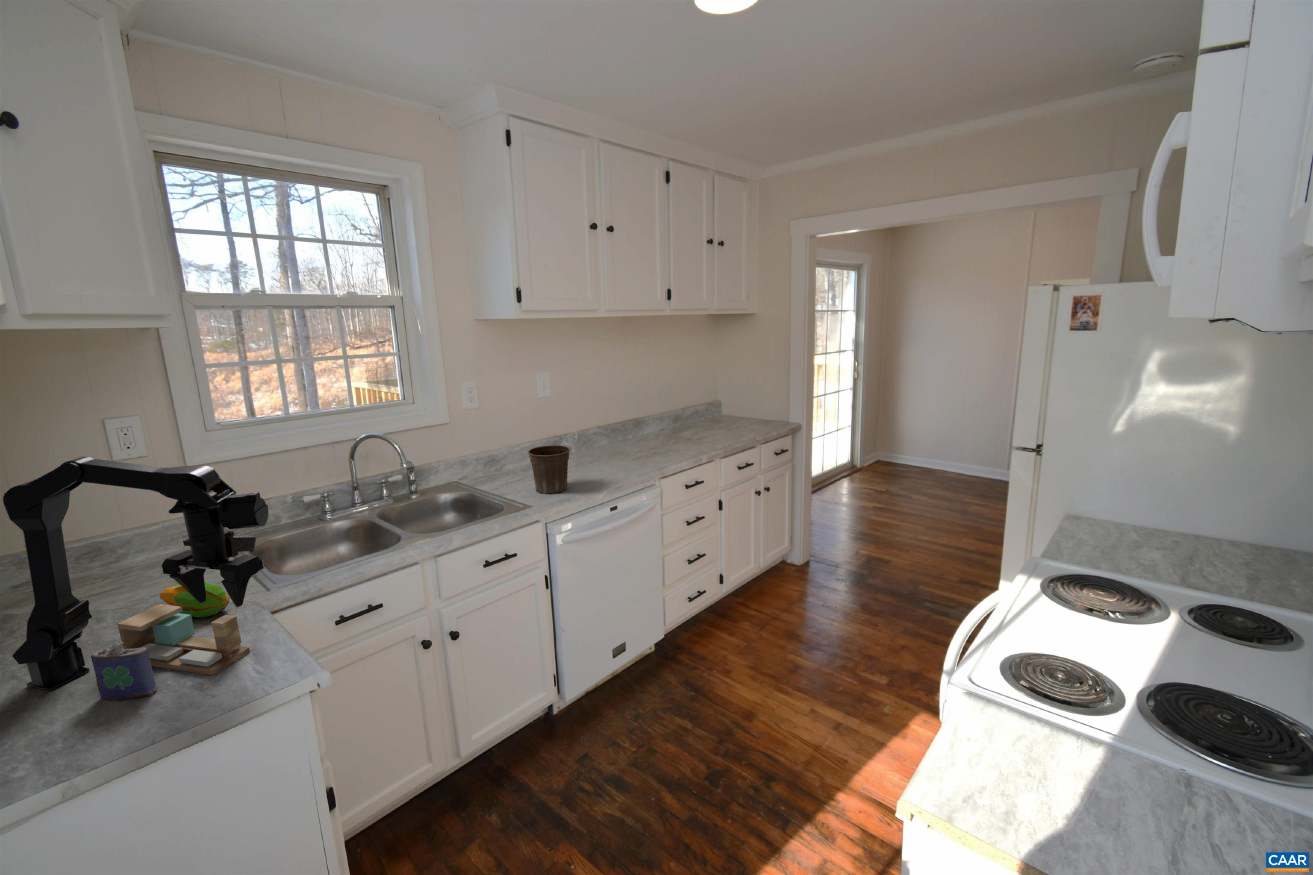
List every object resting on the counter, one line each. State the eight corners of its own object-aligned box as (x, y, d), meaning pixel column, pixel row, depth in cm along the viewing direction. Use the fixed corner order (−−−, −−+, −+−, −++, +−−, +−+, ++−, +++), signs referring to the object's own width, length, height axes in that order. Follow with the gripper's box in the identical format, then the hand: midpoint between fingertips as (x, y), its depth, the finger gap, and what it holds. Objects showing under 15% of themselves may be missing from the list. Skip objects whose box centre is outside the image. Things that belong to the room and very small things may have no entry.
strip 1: (228, 655, 115) (222, 623, 114) (154, 644, 120) (147, 614, 118) (242, 646, 118) (236, 616, 117) (169, 636, 123) (162, 607, 121)
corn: (205, 592, 129) (139, 584, 134) (209, 624, 130) (143, 614, 135) (236, 580, 136) (173, 572, 141) (240, 610, 137) (177, 601, 142)
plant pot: (568, 495, 217) (566, 454, 213) (526, 496, 217) (523, 455, 214) (575, 483, 233) (573, 444, 229) (536, 484, 233) (533, 445, 230)
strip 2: (207, 666, 112) (206, 662, 111) (133, 655, 116) (132, 651, 116) (222, 657, 114) (221, 653, 114) (149, 647, 119) (148, 643, 119)
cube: (173, 645, 117) (168, 625, 116) (156, 643, 118) (151, 623, 117) (195, 633, 122) (190, 614, 121) (178, 631, 123) (174, 612, 122)
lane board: (212, 675, 111) (204, 635, 109) (126, 661, 116) (117, 623, 114) (250, 651, 119) (242, 614, 117) (167, 640, 124) (159, 604, 122)
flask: (161, 688, 107) (148, 637, 105) (149, 698, 104) (136, 646, 102) (108, 692, 107) (94, 640, 104) (94, 702, 104) (80, 649, 101)
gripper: (280, 519, 117) (292, 589, 121) (208, 514, 121) (221, 582, 125) (229, 540, 107) (244, 616, 110) (152, 534, 111) (168, 607, 114)
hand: (221, 604), depth 115 cm, fingers open, 9 cm apart
